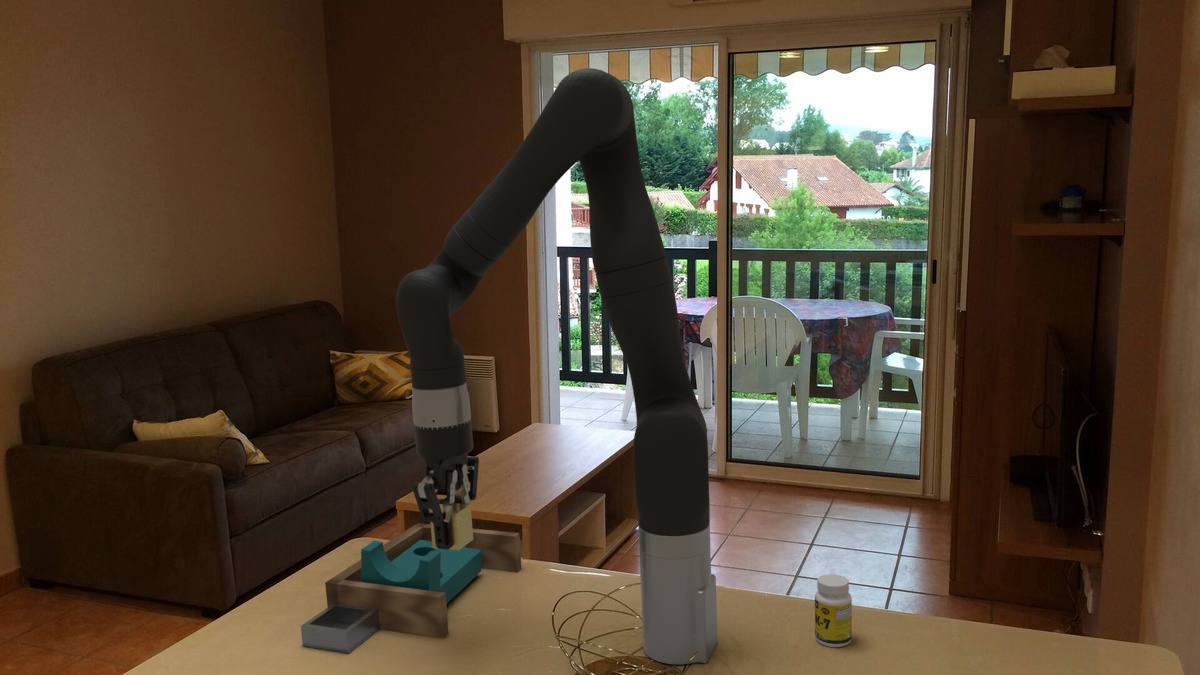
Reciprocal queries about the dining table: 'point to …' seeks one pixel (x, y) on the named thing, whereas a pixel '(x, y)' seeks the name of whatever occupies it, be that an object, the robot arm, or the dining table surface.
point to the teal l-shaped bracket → (421, 567)
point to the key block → (458, 526)
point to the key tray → (340, 628)
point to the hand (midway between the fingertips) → (453, 541)
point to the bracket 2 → (414, 605)
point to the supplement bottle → (833, 611)
